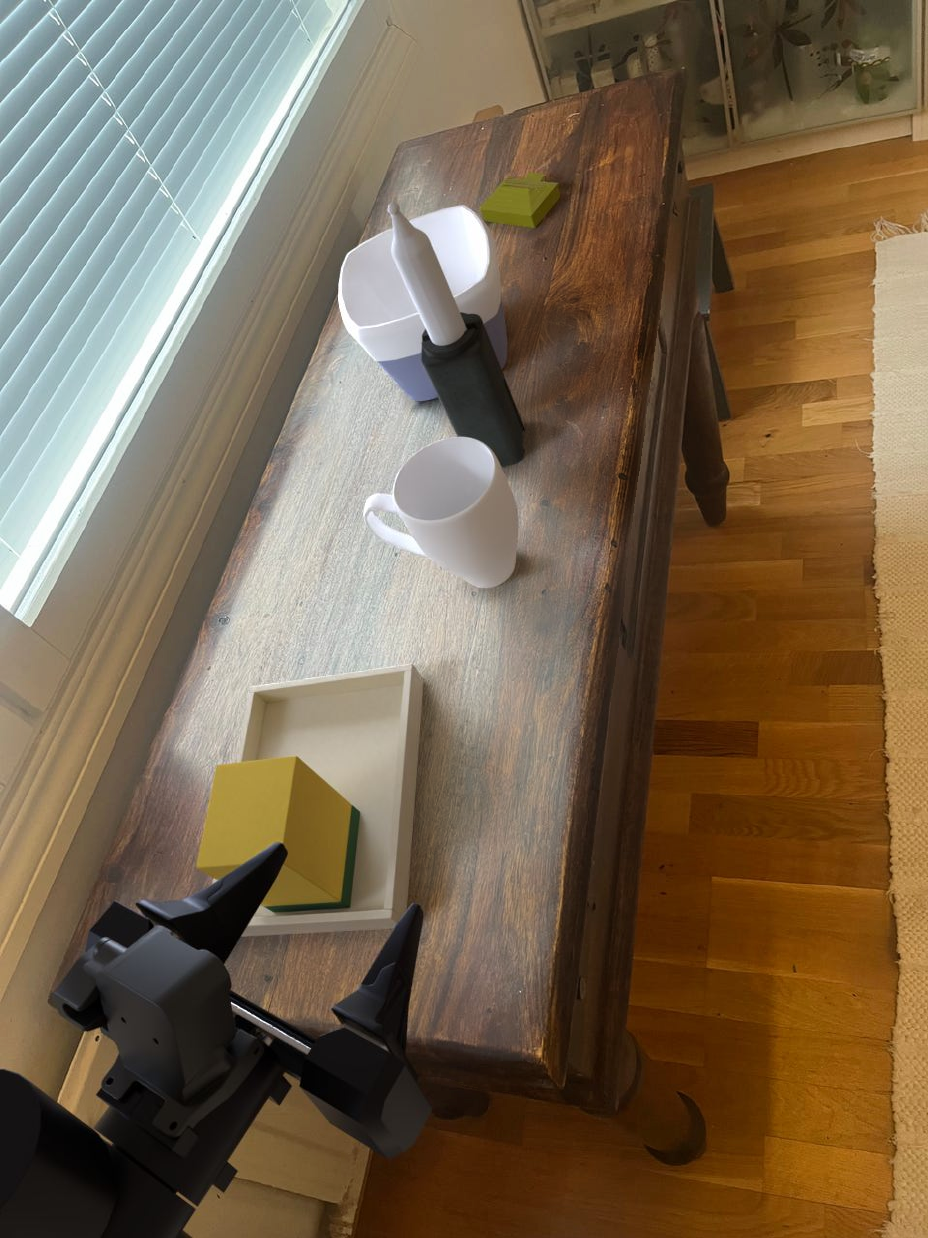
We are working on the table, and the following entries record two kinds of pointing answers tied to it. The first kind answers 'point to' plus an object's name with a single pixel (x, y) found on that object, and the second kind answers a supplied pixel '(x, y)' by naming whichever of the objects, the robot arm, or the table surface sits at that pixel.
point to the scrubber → (283, 831)
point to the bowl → (386, 307)
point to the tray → (348, 779)
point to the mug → (453, 511)
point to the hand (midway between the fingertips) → (348, 875)
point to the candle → (457, 350)
